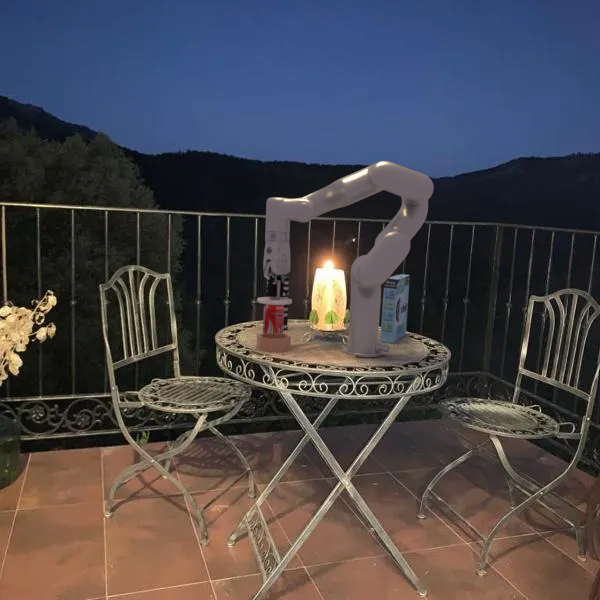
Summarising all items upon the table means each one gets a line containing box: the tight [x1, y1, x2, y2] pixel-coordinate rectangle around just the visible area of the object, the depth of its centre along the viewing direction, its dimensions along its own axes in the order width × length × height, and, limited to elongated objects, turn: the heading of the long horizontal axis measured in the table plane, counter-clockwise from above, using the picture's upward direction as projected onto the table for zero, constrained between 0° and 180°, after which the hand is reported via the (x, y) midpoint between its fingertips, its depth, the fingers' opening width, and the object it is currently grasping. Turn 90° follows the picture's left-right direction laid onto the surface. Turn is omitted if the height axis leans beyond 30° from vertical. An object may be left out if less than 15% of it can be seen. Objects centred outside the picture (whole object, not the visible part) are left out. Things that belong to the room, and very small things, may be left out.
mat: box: [290, 341, 322, 351], centre depth 208 cm, size 10×10×1 cm
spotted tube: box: [266, 276, 290, 332], centre depth 239 cm, size 8×8×20 cm
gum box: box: [379, 273, 411, 344], centre depth 229 cm, size 20×5×23 cm, turn 157°
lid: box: [256, 280, 293, 305], centre depth 199 cm, size 11×11×7 cm
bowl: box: [256, 332, 292, 353], centre depth 201 cm, size 10×10×5 cm
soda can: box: [262, 304, 284, 334], centre depth 218 cm, size 7×7×13 cm
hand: (275, 295), depth 199 cm, fingers closed on lid, 3 cm apart
